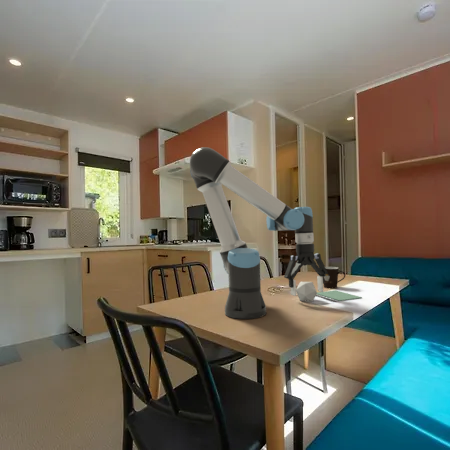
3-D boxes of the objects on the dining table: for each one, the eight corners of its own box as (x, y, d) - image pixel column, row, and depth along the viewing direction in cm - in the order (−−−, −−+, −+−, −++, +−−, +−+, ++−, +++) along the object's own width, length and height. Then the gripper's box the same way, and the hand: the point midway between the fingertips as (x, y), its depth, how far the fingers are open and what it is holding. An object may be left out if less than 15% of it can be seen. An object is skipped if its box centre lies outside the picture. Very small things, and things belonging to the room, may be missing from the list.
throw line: (334, 301, 116) (334, 301, 116) (310, 294, 132) (310, 293, 132) (336, 301, 117) (336, 300, 117) (312, 293, 132) (312, 293, 132)
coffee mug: (318, 286, 149) (317, 267, 149) (331, 285, 151) (331, 266, 151) (332, 290, 138) (331, 270, 138) (347, 289, 140) (346, 268, 140)
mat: (339, 301, 117) (339, 300, 117) (314, 293, 132) (314, 292, 132) (361, 298, 121) (361, 297, 121) (335, 291, 136) (335, 290, 136)
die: (319, 300, 122) (307, 281, 127) (323, 294, 115) (310, 274, 120) (302, 308, 121) (291, 288, 126) (305, 302, 114) (293, 281, 119)
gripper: (284, 245, 113) (286, 298, 113) (334, 241, 121) (337, 291, 121) (274, 244, 120) (277, 294, 120) (323, 241, 129) (325, 288, 128)
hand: (307, 293), depth 120 cm, fingers open, 13 cm apart
